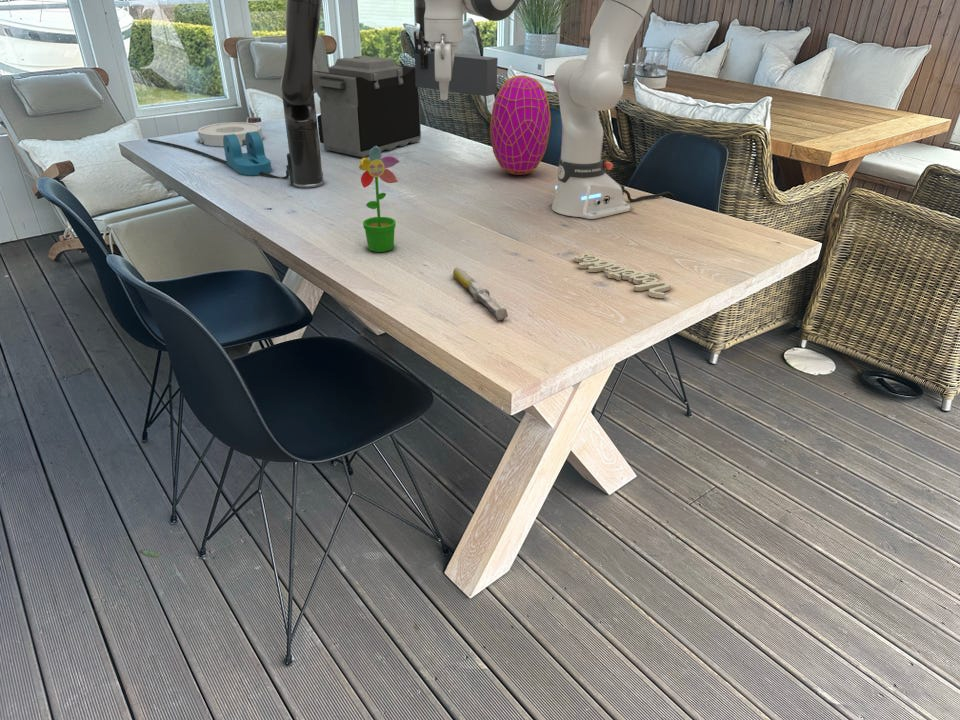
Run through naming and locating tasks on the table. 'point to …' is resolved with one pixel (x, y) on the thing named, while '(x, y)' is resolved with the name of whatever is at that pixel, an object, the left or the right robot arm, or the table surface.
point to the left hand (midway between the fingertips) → (429, 67)
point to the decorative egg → (520, 125)
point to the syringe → (479, 293)
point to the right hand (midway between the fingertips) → (444, 96)
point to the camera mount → (246, 154)
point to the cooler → (367, 105)
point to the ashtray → (226, 132)
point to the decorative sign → (625, 274)
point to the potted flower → (378, 227)
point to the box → (461, 74)
